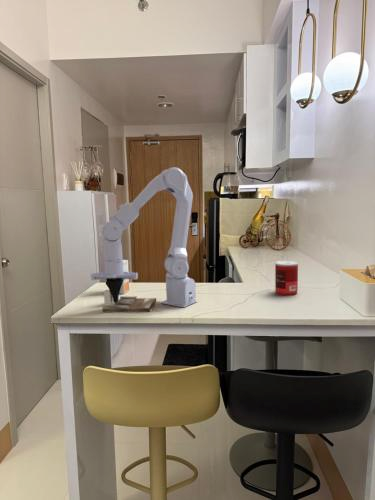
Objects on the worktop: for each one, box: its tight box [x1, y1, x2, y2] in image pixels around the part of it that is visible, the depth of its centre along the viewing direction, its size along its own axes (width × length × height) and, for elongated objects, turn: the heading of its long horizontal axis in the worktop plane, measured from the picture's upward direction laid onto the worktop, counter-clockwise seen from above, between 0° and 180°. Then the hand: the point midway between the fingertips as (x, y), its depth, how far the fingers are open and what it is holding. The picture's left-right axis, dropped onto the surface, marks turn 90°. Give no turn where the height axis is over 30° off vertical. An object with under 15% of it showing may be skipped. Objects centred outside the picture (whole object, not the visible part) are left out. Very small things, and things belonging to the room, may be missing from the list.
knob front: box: [102, 289, 115, 307], centre depth 118 cm, size 3×3×5 cm
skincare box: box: [119, 259, 130, 295], centre depth 139 cm, size 6×4×12 cm
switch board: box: [102, 295, 157, 313], centre depth 121 cm, size 15×12×2 cm
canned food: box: [274, 260, 299, 296], centre depth 131 cm, size 8×8×11 cm
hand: (116, 301), depth 117 cm, fingers closed
